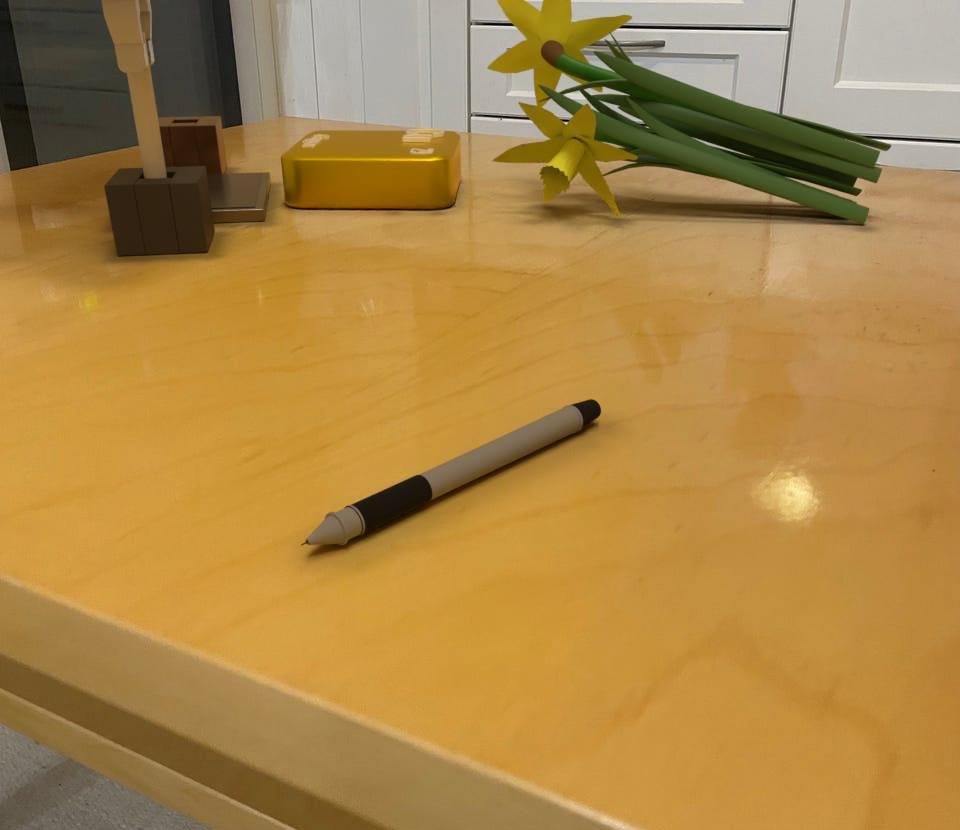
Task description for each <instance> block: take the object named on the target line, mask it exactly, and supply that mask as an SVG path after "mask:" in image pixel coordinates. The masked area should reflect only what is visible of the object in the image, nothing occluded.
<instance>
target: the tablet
mask: <svg viewBox="0 0 960 830" xmlns="http://www.w3.org/2000/svg"><path fill="white" fill-rule="evenodd" d="M207 179H208V187H209V194H210V201H211V208H212V215H213V223H214V224H219V223H221V224H223V223H245V222H248V223H249V222H250V223H251V222H265V220H266V215H267V209H268V208H267V207H268V202H269V197H270V195H269V194H270V189H271V184H272V181H271V173H270V172H269V171H265V172H264V171H262V172H230V173H224V174H207Z"/></svg>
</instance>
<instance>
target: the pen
mask: <svg viewBox="0 0 960 830" xmlns="http://www.w3.org/2000/svg"><path fill="white" fill-rule="evenodd" d="M601 414H602V408H601V404H600V403H599V402H598V401H597V400H596V399H592V398H591V399H590V398H589V399H586V400H582V401H579V402H574V403H572V404H566V405H565V406H563V407H562V408H560V409H558V410H556V411H553V412H551V413H549V414H547V415H544V416H542V417H540V418H538V419H536V420H533V421H531V422H530V423H528V424H526V425H523V426H521V427H519V428H517V429H513V430H512V431H510V432H508V433H506V434H503V435H501V436H500V437H497V438H495V439H493V440H490V441H489V442H486V443H485V444H482V445H480V446H478V447H475V448H474V449H471V450H468V451H466V452H464V453H463V454H460V455H458V456H455V457H454V458H452V459H450V460H447V461H445V462H443V463H441V464H438V465H437V466H434V467H433V468H430V469H428V470H426V471H424V472H422V473H419V474H415V475H413V476H411V477H409V478H407V479H405V480H402V481H400V482H398V483H395V484H393V485H391V486H388V487H386V488H385V489H381V490H380V491H378V492H376V493H373V494H372V495H369V496H366V497H365V498H363V499H360V500H358V501H356V502H353V503H351V504H348V505H345V506H344V507H343V508H342V509H340V510H338V511H329V512H327V513H326V514H325V516H324V519H323V520H322V522H321V523H320V524H319V525H318V526H316V528H315V529H314V530H313V531H312V532H311V533H310V534H309V535H308V536H307V537H306V539H305V542H303V543H301V544H300V546H304V545H308V546H318V545H334V544H336V545H338V546H344V545H346V544H347V543H348V541H349V540H351V539H353V538H355V537H361V536H362V535H363V534H365V533H367V532H369V531H371V530H374V529H375V528H378V527H380V526H383V524H386V523H388V522H390V521H392V520H395V519H397V518H398V517H400V516H402V515H404V514H407V513H409V512H411V511H413V510H415V509H417V508H419V507H421V506H423V505H425V504H428V503H429V502H431V501H432V500H434V499H436V498H438V497H440V496H442V495H445V494H447V493H449V492H451V491H453V490H456V489H457V488H460V487H462V486H464V485H466V484H468V483H470V482H473V481H475V480H477V479H479V478H481V477H483V476H485V475H487V474H489V473H491V472H493V471H497V469H500V468H502V467H504V466H506V465H508V464H511V463H512V462H515V461H517V460H519V459H521V458H523V457H526V456H528V455H530V454H531V453H534V452H536V451H538V450H540V449H543V448H545V447H546V446H549V445H551V444H553V443H556V442H557V441H559V440H561V439H564V438H565V437H567V436H569V435H572V434H575V433H579V432H580V431H581V430H582V429H584V428H585V427H586V426H588V425H590V424H591V423H592V422H594V421H595V420H597V419H598V418H599V417H600V416H601Z"/></svg>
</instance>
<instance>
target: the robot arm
mask: <svg viewBox="0 0 960 830" xmlns="http://www.w3.org/2000/svg"><path fill="white" fill-rule="evenodd" d="M101 6H102V12H103V18H104V20H105V23H106V26H107V29H108V31H109V34H110V37H111V40H112V43H113V45H114V51H115V57H116V61H117V67H118V69H119V70H120V72H122V73H123V74H127V73H141V72H143V71H145V70H146V69H147V67H148V59H147V52H146V46H145V43H143V36H142V32H144V33H145V38H146V45H147V51H148V57H149V64H150V67H152V66H154V64H155V54H154V46H153V39H152V38H153V36H152V35H153V31H152V30H153V29H152V27H153V18H152V16H153V14H152V13H153V11H152V4H151V0H101Z"/></svg>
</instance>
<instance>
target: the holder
mask: <svg viewBox="0 0 960 830" xmlns="http://www.w3.org/2000/svg"><path fill="white" fill-rule="evenodd" d="M166 173H167V178H153V179H144V173H143V167H126V168H125V167H124V168H123V167H122V168H121V167H120V168H118V169H117V171H115V173H114V174H113V175H112V176H111V177H110V178H109V179H108V180H107V181H106V183H105V184H104V185H103V189H104V193H105V199H106V204H107V210H108V214H109V219H110V225H111V230H112V235H113V240H114V245H115V251H116V255H117V257H127V256H129V257H131V256H152V255H154V256H155V255H178V254H197V253H200V254H201V253H208V251H209V248H210V245H211V243H212V240H213V237H214V234H215V231H216V229H215V223H213V215H212V208H211V201H210V194H209V187H208V179H207V172H206V167H205V166H188V167H166Z"/></svg>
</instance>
